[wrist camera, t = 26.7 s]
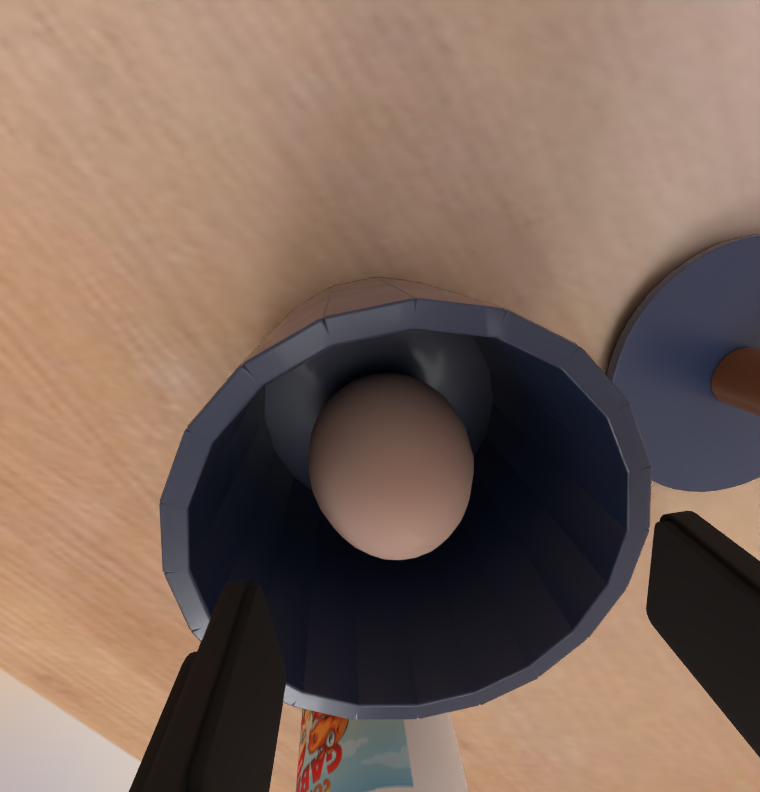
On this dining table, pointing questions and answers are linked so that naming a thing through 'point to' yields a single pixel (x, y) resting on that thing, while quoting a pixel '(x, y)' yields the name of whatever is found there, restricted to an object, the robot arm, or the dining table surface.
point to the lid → (698, 369)
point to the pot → (467, 545)
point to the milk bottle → (378, 755)
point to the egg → (391, 465)
